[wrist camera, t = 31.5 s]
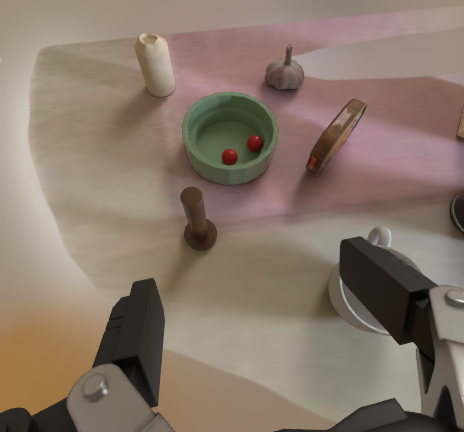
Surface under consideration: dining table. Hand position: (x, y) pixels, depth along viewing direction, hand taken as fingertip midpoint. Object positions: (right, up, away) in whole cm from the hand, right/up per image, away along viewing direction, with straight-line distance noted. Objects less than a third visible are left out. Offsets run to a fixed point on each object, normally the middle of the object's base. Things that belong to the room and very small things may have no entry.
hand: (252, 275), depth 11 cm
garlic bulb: (+10, +30, +43) cm, 53 cm away
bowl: (-1, +15, +37) cm, 40 cm away
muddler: (-6, -1, +30) cm, 31 cm away
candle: (-15, +28, +42) cm, 53 cm away
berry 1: (-1, +13, +34) cm, 36 cm away
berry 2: (+3, +15, +35) cm, 38 cm away
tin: (+17, +14, +37) cm, 43 cm away
